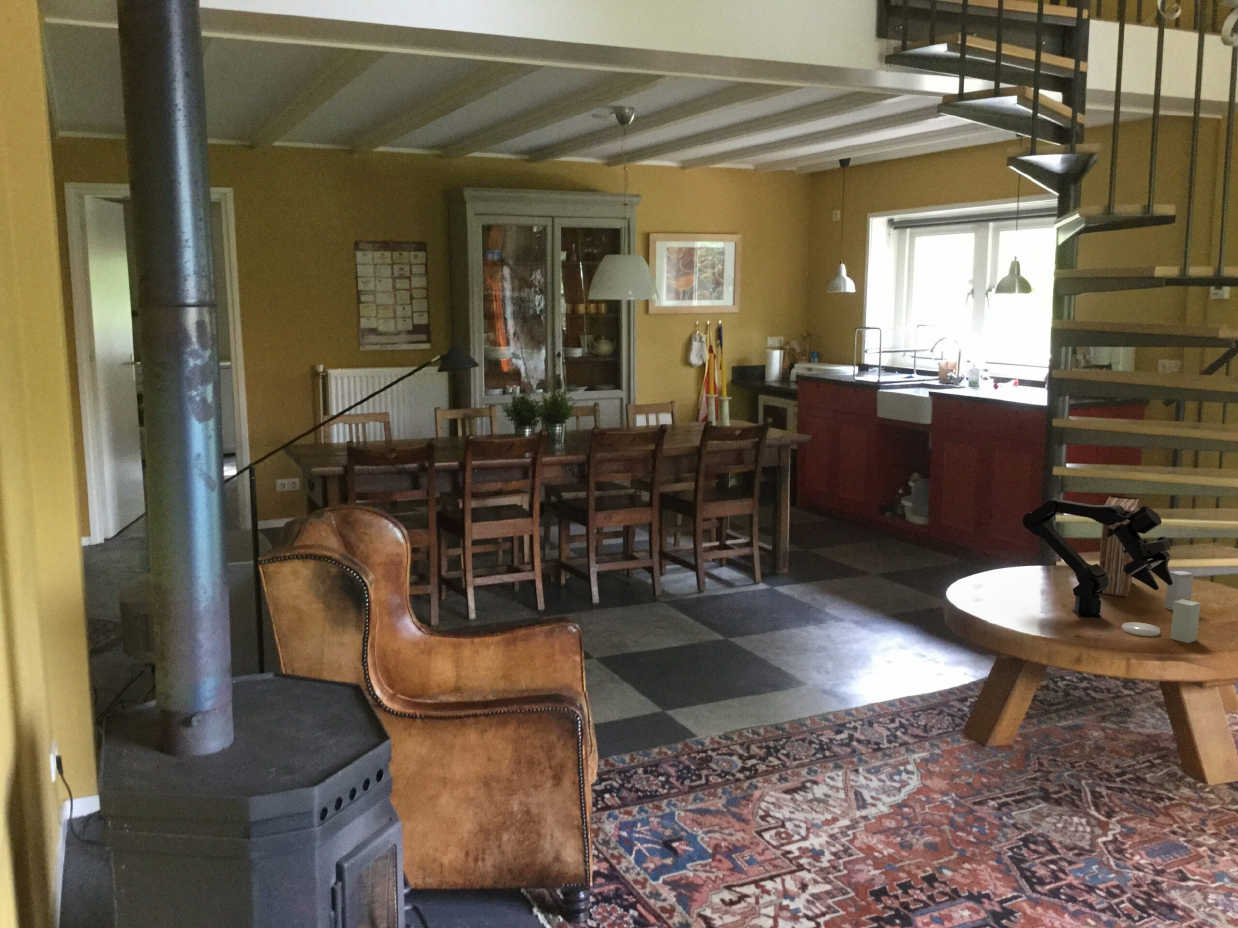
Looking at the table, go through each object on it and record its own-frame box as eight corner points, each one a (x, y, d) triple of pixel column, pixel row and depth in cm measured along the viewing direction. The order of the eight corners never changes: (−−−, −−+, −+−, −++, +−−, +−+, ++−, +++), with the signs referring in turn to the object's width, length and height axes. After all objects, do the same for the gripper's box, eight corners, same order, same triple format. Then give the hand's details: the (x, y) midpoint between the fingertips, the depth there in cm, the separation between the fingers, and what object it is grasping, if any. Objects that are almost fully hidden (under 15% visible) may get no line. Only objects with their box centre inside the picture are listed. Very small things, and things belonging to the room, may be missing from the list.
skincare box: (1175, 611, 328) (1178, 574, 327) (1164, 607, 332) (1167, 571, 331) (1190, 610, 330) (1194, 573, 328) (1180, 606, 334) (1183, 570, 332)
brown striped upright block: (1126, 598, 343) (1134, 509, 339) (1096, 594, 348) (1103, 506, 343) (1131, 581, 365) (1139, 497, 361) (1103, 578, 370) (1109, 495, 365)
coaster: (1131, 635, 302) (1131, 631, 302) (1116, 625, 312) (1116, 621, 312) (1166, 636, 302) (1166, 632, 302) (1149, 626, 312) (1150, 622, 312)
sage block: (1188, 642, 297) (1191, 605, 295) (1170, 638, 301) (1173, 601, 299) (1196, 640, 299) (1200, 603, 298) (1179, 635, 304) (1182, 599, 302)
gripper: (1139, 531, 300) (1173, 578, 294) (1168, 524, 312) (1201, 568, 306) (1109, 551, 308) (1141, 597, 301) (1138, 543, 319) (1169, 587, 313)
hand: (1164, 587), depth 305 cm, fingers open, 9 cm apart
